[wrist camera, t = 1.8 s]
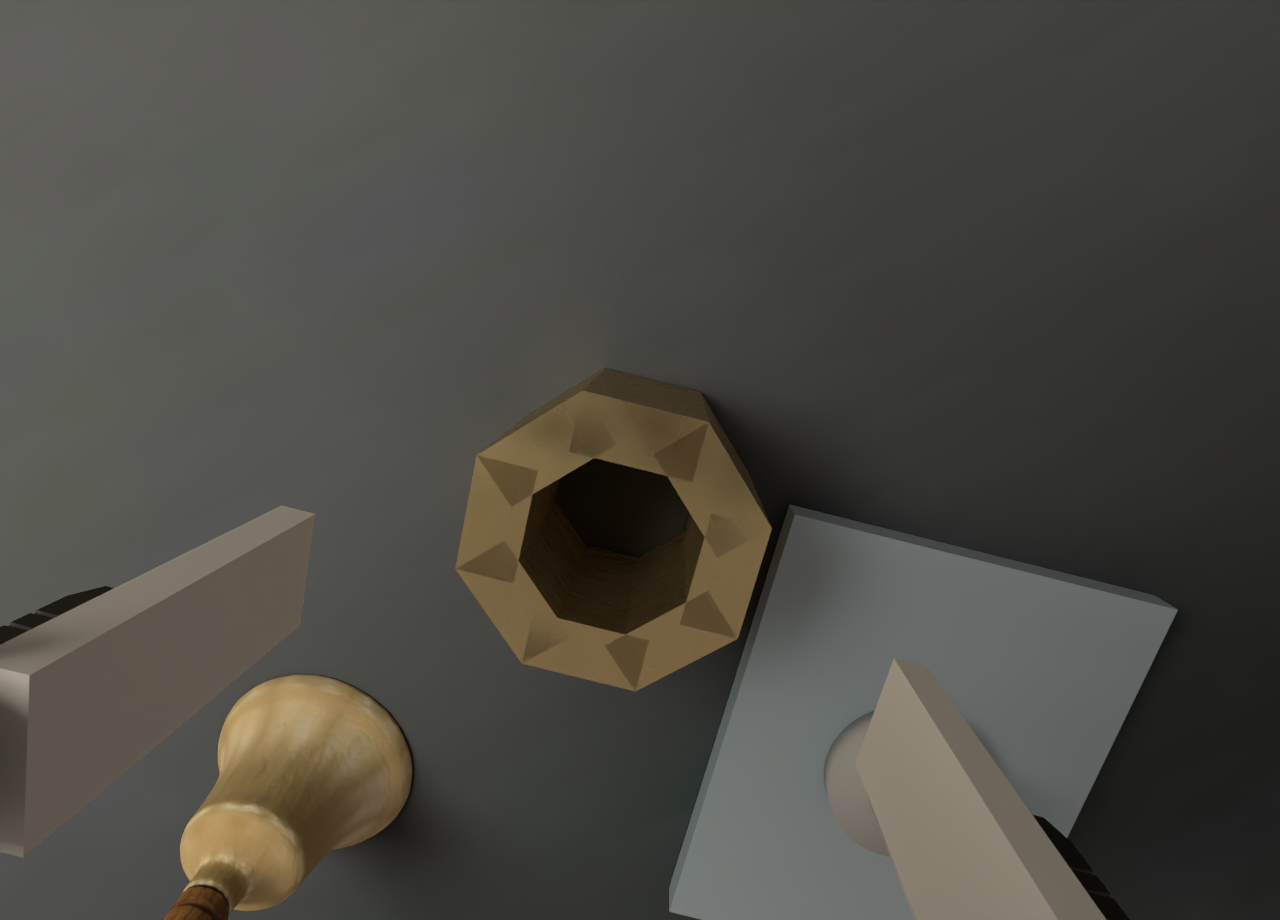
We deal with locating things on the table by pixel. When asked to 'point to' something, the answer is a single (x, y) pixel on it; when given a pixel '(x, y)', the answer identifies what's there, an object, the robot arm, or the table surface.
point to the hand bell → (290, 793)
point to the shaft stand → (849, 692)
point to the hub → (604, 580)
